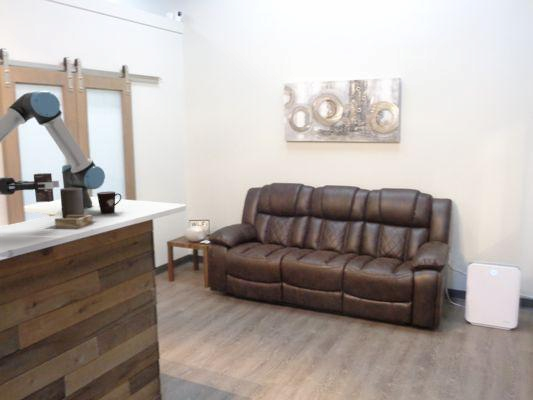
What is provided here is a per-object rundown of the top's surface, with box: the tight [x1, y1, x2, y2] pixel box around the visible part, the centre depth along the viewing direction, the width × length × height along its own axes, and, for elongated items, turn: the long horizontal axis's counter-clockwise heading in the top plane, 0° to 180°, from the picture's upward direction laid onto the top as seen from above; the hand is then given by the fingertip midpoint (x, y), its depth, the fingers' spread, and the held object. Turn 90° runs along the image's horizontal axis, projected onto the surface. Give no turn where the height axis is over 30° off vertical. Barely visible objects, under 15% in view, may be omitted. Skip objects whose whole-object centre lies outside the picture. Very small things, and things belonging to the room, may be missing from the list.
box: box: [33, 172, 55, 203], centre depth 215 cm, size 6×4×12 cm
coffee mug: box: [96, 190, 122, 215], centre depth 246 cm, size 12×9×10 cm
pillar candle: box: [59, 186, 85, 218], centre depth 235 cm, size 10×10×15 cm
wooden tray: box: [54, 214, 94, 229], centre depth 215 cm, size 10×12×4 cm
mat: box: [44, 220, 98, 230], centre depth 216 cm, size 16×15×1 cm
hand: (55, 184), depth 214 cm, fingers closed on box, 4 cm apart
